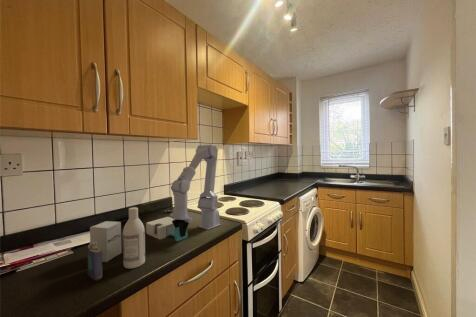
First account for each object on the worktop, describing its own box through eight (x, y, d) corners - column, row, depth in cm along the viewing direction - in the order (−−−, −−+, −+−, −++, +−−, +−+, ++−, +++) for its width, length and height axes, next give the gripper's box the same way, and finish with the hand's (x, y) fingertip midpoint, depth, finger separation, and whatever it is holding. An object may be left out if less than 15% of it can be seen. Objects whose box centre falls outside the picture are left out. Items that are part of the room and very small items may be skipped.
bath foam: (135, 257, 77) (134, 205, 77) (149, 260, 74) (148, 206, 74) (118, 267, 70) (117, 209, 70) (133, 271, 68) (132, 211, 68)
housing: (167, 226, 110) (167, 216, 110) (181, 231, 103) (181, 220, 103) (146, 233, 101) (146, 222, 100) (159, 239, 93) (159, 227, 93)
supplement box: (106, 262, 73) (105, 228, 73) (89, 260, 75) (88, 227, 75) (122, 253, 81) (121, 221, 80) (106, 251, 82) (105, 220, 82)
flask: (104, 278, 64) (103, 244, 64) (93, 282, 62) (91, 247, 62) (95, 267, 70) (94, 237, 70) (85, 271, 68) (84, 239, 68)
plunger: (159, 231, 99) (159, 223, 99) (162, 232, 97) (162, 224, 97) (154, 232, 97) (153, 224, 97) (157, 234, 95) (157, 225, 95)
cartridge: (164, 228, 107) (163, 218, 107) (187, 237, 95) (187, 225, 95) (153, 231, 102) (153, 220, 102) (177, 241, 90) (177, 229, 90)
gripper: (163, 205, 94) (164, 234, 94) (183, 210, 85) (184, 242, 85) (176, 202, 100) (177, 230, 100) (196, 207, 91) (196, 237, 91)
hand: (181, 235), depth 93 cm, fingers closed on cartridge, 2 cm apart
